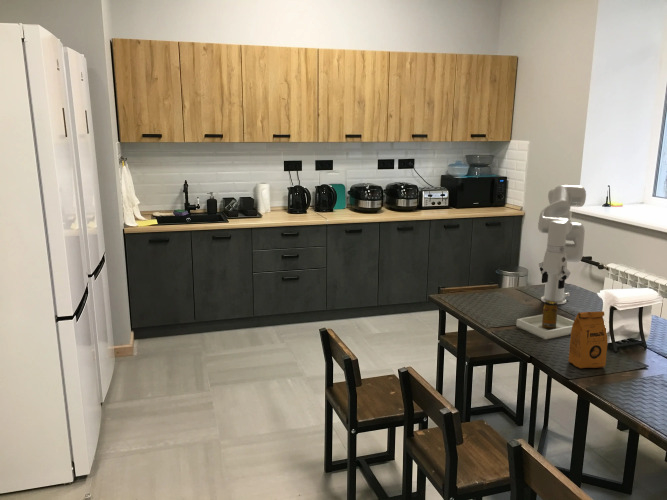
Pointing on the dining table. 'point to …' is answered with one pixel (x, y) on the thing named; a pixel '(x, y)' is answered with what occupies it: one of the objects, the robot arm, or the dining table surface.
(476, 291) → the dining table surface
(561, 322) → the tray
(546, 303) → the condiment
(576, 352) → the coffee package
